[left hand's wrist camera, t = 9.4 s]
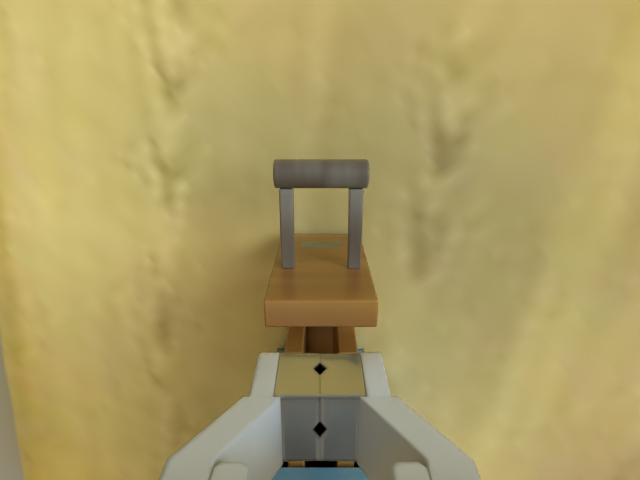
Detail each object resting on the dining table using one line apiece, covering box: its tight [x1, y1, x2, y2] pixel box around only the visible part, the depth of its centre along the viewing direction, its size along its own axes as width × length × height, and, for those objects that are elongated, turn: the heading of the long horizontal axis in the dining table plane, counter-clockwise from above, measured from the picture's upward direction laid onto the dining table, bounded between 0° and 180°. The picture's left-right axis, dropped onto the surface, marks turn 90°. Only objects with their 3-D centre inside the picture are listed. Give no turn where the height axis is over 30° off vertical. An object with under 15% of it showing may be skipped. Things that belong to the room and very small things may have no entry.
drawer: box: [264, 160, 378, 467], centre depth 23 cm, size 23×4×8 cm, turn 0°
